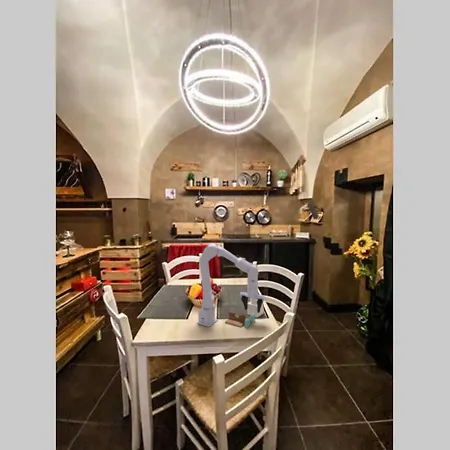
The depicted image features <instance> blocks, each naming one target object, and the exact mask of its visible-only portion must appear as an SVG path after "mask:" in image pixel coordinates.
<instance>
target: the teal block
mask: <svg viewBox="0 0 450 450" xmlns="http://www.w3.org/2000/svg"><path fill="white" fill-rule="evenodd" d="M246 318H247V319H246V320H245V324H244V328H245V329H249V327H250V326H251V324H254V322H255V321H256V317H255V314H253V313H252V314H251V315H248V317H246Z"/></svg>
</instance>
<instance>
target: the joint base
mask: <svg viewBox="0 0 450 450" xmlns="http://www.w3.org/2000/svg"><path fill="white" fill-rule="evenodd" d="M246 315H247V314H245V313H239V314H238V315H236V311H232V310H229V311H228V319H227V320H225V321H224V324H226V325H227V324H228V325H231V326H233V327H236V328H237V327H238V328H242V327H244V326H245V320H246V319H247V318H248V317H247V316H246Z"/></svg>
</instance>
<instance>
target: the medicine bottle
mask: <svg viewBox="0 0 450 450" xmlns="http://www.w3.org/2000/svg"><path fill="white" fill-rule="evenodd" d="M249 300H250V301H248V309H247V311H246V313H247V314H246V315H248V316H250V315H251V314H252V313H253V314H255V319H256V318H260V317H261V316H262V315H264V302H263V303H262V306H261V309H260V312H259V313H257V301H258V299H254V298H249Z"/></svg>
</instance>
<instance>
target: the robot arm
mask: <svg viewBox="0 0 450 450" xmlns="http://www.w3.org/2000/svg"><path fill="white" fill-rule="evenodd" d="M216 256H217V257H223V258H226V259H227V260H229V261H231V262H232V263H234V266H235V267H236V268H238V269H239V270H240V271H242V272H243V273H247V279H246V280H247V281H246V282H247V283H246V285H247V289H246V291H247V292H246V291H240V293H239V296H240V297H241V298H240V300H241V302H242V304H243V307H244V310H245V311H246V310H247V309H248V303H249V299H250V298H254V299H258V301H257V313H259V312H260V309H261V306H262V303H263V304H264V301H265V302H266V296H264V295H262V294H259V292H258V291H259V287H258V286H259V285H258V284H259V280H258V279H259V278H258V277H259V276H258V275H259V269H258V267H257V266H256V264H253V263H252V262H249V261H247V260H246V258H245V257H237V256H236V255H234V254H232V253H231V252H230V251H228V250H226V249H225V248H224V247H222V246H221V245H217V244H216V243H214V242H211V243H208V245H207V246H205V248H204V250H203V251H202V253H201V255H200V257H199V268H200V278H201V285H202V301H201V309H200V310H198V316H197V317H198V322H197V323H196V324H198V325H202V326H205V327H210V326H212V325H213V324H215V323H216V322H218V321H219V319H217V318H216V306H215V303H214V301H215V294H214V293H213V290H212V284H211V283H212V282H211V274H210V266H209V261H211V259H213V258H215V257H216Z"/></svg>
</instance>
